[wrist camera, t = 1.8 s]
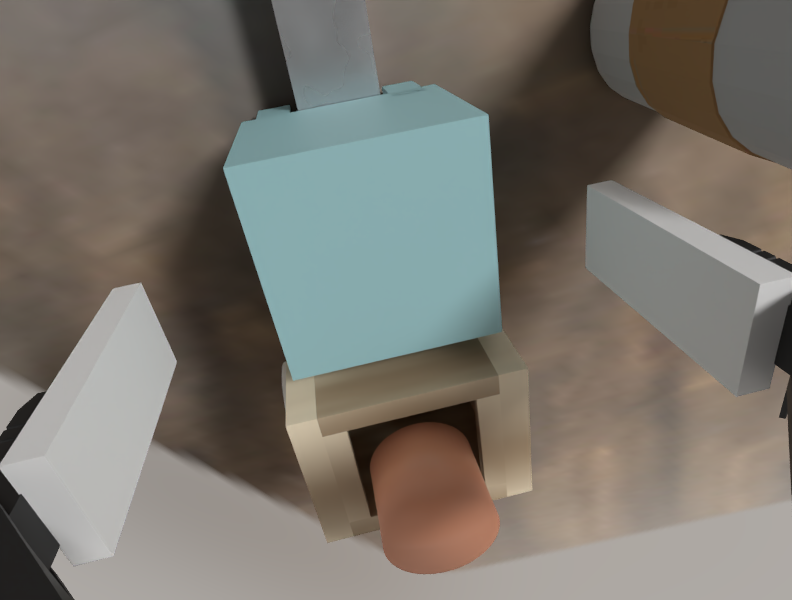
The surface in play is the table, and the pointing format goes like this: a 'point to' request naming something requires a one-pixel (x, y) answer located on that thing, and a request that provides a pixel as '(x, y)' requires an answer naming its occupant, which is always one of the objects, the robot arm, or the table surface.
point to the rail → (327, 50)
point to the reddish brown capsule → (431, 499)
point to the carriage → (370, 225)
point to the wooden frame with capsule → (408, 422)
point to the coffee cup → (704, 66)
